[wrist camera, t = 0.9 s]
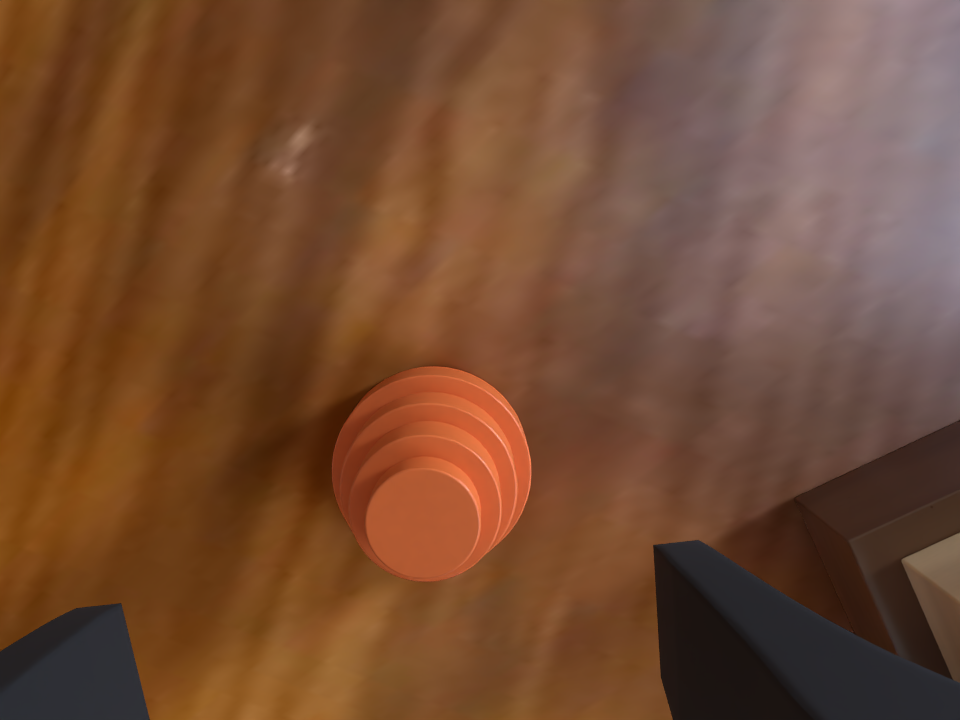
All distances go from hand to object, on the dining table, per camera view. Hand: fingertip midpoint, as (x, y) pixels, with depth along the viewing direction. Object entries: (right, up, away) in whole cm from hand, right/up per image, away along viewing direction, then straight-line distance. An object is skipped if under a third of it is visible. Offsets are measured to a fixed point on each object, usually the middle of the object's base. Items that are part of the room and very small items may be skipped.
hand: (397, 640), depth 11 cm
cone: (0, +1, +13) cm, 13 cm away
